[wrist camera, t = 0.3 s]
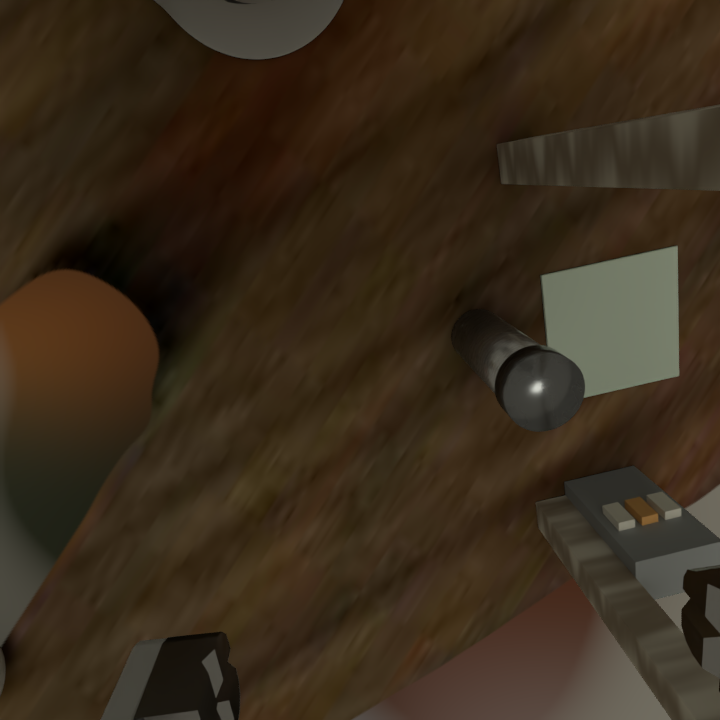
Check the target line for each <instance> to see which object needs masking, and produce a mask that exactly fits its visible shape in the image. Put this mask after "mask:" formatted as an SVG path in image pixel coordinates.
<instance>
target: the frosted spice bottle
mask: <svg viewBox="0 0 720 720" xmlns="http://www.w3.org/2000/svg"><path fill="white" fill-rule="evenodd" d="M451 339H452V344H453V347H454V349H455V351H456V352H457V353H458V354H459V355H460V356H461V357H462V358H463V360H464V361H465V362H466V363H467V364H468V365H469V366H470V367H471V368H472V369H473V370H474V371H475V372H476V374H477V375H478V376H479V377H480V378H481V379H482V380H483V381H484V382H485V383H486V384H487V385H488V387H489V388H490V389H491V390H492V391H493V392H494V393H495V395H496V398H497V401H498V403H499V404H500V406H501V407H502V408H503V409H504V411H505V412H506V413H507V414H508V415H509V416H510V417H511V418H512V420H513V421H514V422H515V423H516V424H518V425H519V426H521V427H523V428H525V429H527V430H531V431H548V430H552V429H555V428H557V427H559V426H561V425H563V424H564V423H566V422H567V421H568V420H570V419H571V418H572V417H573V416H574V414H575V413H576V412H577V411H578V409H579V407H580V405H581V403H582V401H583V398H584V393H585V381H584V377H583V374H582V372H581V370H580V369H579V367H578V366H577V365H576V364H575V363H574V362H573V361H572V360H570V359H569V358H567V357H566V356H564V355H563V354H561V353H560V352H558V351H556V350H555V349H553V348H551V347H548V346H543V345H539V344H538V343H537V342H535V341H534V340H532V339H531V338H529V337H528V336H526V335H525V334H523V333H522V332H520V331H519V330H518V329H516V328H515V327H513V326H512V325H510V324H509V323H507V322H506V321H504V320H503V319H501V318H500V317H499V316H497V315H496V314H494V313H493V312H491V311H488V310H485V309H474V310H471V311H468V312H466V313H465V314H463V315H462V316H461V317H460V318H459V319H458V320H457V321H456V323H455V325H454V327H453V330H452V334H451Z"/></svg>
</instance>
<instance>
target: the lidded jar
mask: <svg viewBox="0 0 720 720" xmlns="http://www.w3.org/2000/svg"><path fill="white" fill-rule="evenodd" d="M5 672H6V665H5V658H4V654H3V652H2V649H1V647H0V696H1V693H2V689H3V686H4V682H5Z"/></svg>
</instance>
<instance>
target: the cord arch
mask: <svg viewBox="0 0 720 720" xmlns="http://www.w3.org/2000/svg"><path fill="white" fill-rule="evenodd" d="M497 152H498V161H499V170H500V179H501V184H519V185H552V186H586V187H619V188H653V189H686V190H719V191H720V105H715V106H710V107H704V108H698V109H692V110H686V111H681V112H675V113H669V114H663V115H657V116H651V117H646V118H640V119H634V120H628V121H622V122H617V123H611V124H605V125H599V126H593V127H588V128H582V129H576V130H570V131H564V132H559V133H553V134H547V135H541V136H535V137H530V138H525V139H521V140H516V141H511V142H506V143H501V144H497ZM536 510H537V519H538V528H539V529H540V531H541V532H542V534H543V535H544V537H545V538H546V540H547V541H548V542H549V544H550V545H551V547H552V548H553V550H554V551H555V552H556V554H557V555H558V557H559V558H560V560H561V561H562V563H563V564H564V565H565V567H566V568H567V570H568V571H569V573H570V574H571V576H572V577H573V578H574V580H575V581H576V583H577V584H578V586H579V587H580V588H581V590H582V591H583V593H584V594H585V596H586V597H587V598H588V600H589V601H590V603H591V604H592V606H593V607H594V609H595V610H596V612H597V613H598V614H599V616H600V617H601V619H602V620H603V622H604V623H605V624H606V626H607V627H608V629H609V630H610V632H611V633H612V635H613V636H614V637H615V639H616V640H617V642H618V643H619V644H620V646H621V648H622V649H623V650H624V652H625V653H626V655H627V656H628V658H629V659H630V660H631V662H632V663H633V665H634V666H635V668H636V669H637V671H638V672H639V673H640V675H641V676H642V678H643V679H644V681H645V682H646V683H647V685H648V686H649V688H650V689H651V691H652V692H653V693H654V695H655V696H656V698H657V699H658V701H659V702H660V704H661V705H662V707H663V708H664V709H665V711H666V712H667V714H668V715H669V717H670V718H671V719H672V720H720V692H719V681H720V678H718V677H716V676H715V675H713V674H711V673H710V672H708V671H706V670H704V669H703V668H701V666H700V665H699V663H698V662H697V661H696V659H695V658H694V656H693V655H692V653H691V651H690V649H689V647H688V645H687V643H686V640H685V636H684V634H683V633H682V632H681V631H680V629H679V628H678V627H677V626H676V625H675V623H674V622H673V621H672V620H671V619H670V618H669V616H668V615H667V614H666V613H665V612H664V610H663V609H662V608H661V607H660V606H659V605H658V604H657V602H656V601H655V600H654V599H653V598H652V596H651V595H650V594H649V593H648V592H647V590H646V589H645V588H644V587H643V586H642V585H641V583H640V582H639V581H638V580H637V579H636V578H635V576H634V575H633V574H632V573H631V572H630V571H629V569H628V568H627V567H626V566H625V565H624V563H623V562H622V561H621V560H620V559H619V558H618V556H617V555H616V554H615V553H614V552H613V551H612V549H611V548H610V547H609V546H608V545H607V543H606V542H605V541H604V540H603V539H602V538H601V536H600V535H599V534H598V533H597V532H596V531H595V529H594V528H593V527H592V526H591V525H590V524H589V522H588V521H587V520H586V519H585V518H584V516H583V515H582V514H581V513H580V512H579V511H578V509H577V508H576V507H575V506H574V505H573V504H572V502H571V501H570V500H569V499H568V498H567V496H566V495H564V496H560V497H556V498H551V499H547V500H543V501H539V502H536Z"/></svg>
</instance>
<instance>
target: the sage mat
mask: <svg viewBox="0 0 720 720" xmlns="http://www.w3.org/2000/svg"><path fill="white" fill-rule="evenodd" d="M540 279H541V290H542V301H543V311H544V322H545V333H546V344H547V346H548V347H551V348H553V349H555V350H556V351H558V352H560V353H561V354H563V355H564V356H566V357H567V358H569V359H570V360H572V361H573V362H574V363H575V364H576V365H577V366H578V367H579V369H580V370H581V372H582V374H583V377H584V381H585V393H584V397H589V396H593V395H598V394H602V393H606V392H611V391H615V390H619V389H624V388H628V387H632V386H637V385H641V384H646V383H650V382H654V381H659V380H663V379H667V378H672V377H676V376H679V325H678V246H671V247H667V248H662V249H658V250H653V251H649V252H644V253H639V254H635V255H630V256H626V257H621V258H617V259H612V260H607V261H603V262H598V263H594V264H589V265H585V266H580V267H575V268H571V269H566V270H562V271H557V272H553V273H548V274H543V275H540Z"/></svg>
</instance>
